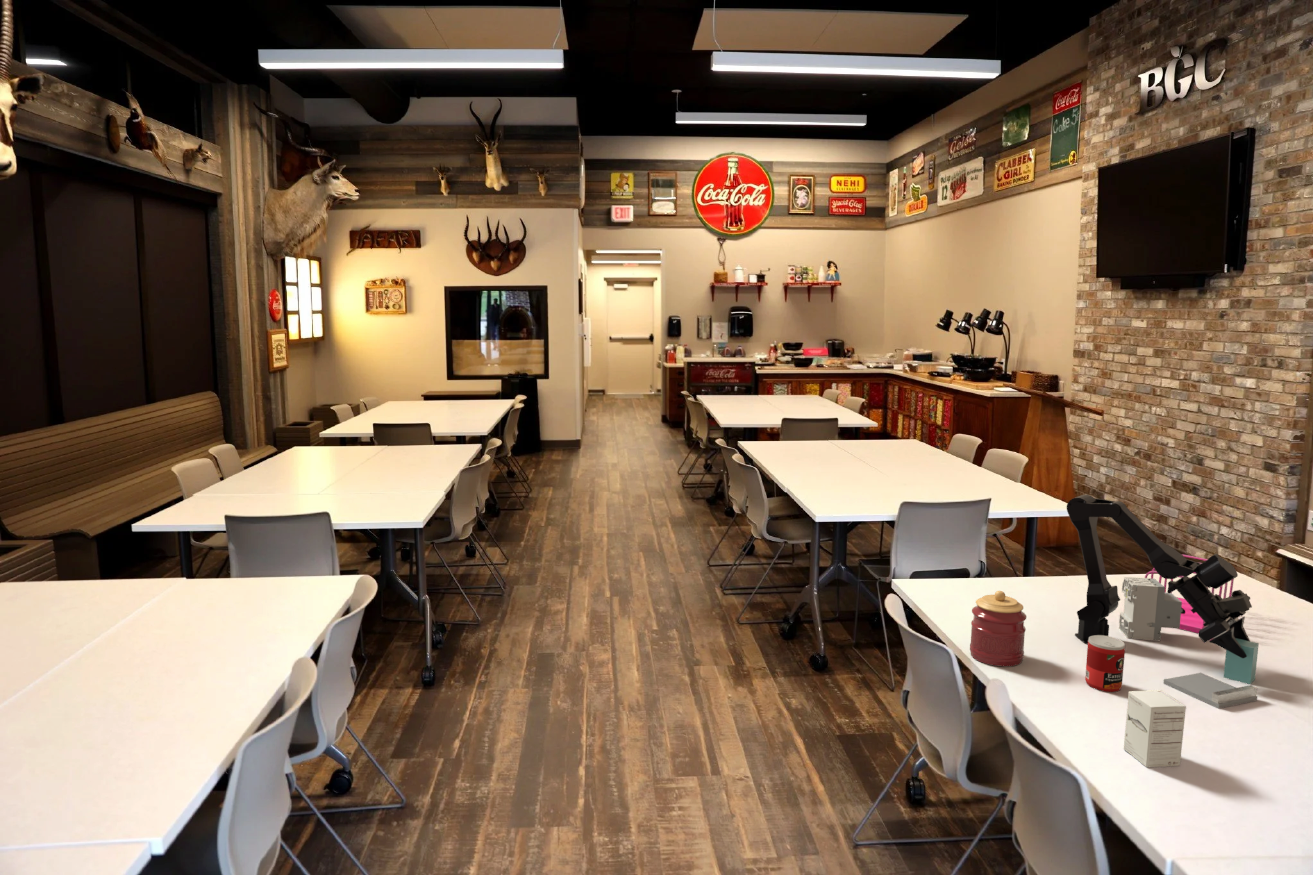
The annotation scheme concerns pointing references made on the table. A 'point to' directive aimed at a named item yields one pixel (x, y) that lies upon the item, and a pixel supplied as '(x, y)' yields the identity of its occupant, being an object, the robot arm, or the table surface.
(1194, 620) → the file sorter
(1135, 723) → the supplement box
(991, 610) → the canister
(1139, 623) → the circuit breaker
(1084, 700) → the table surface
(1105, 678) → the canned food
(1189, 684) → the plate
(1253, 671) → the block
